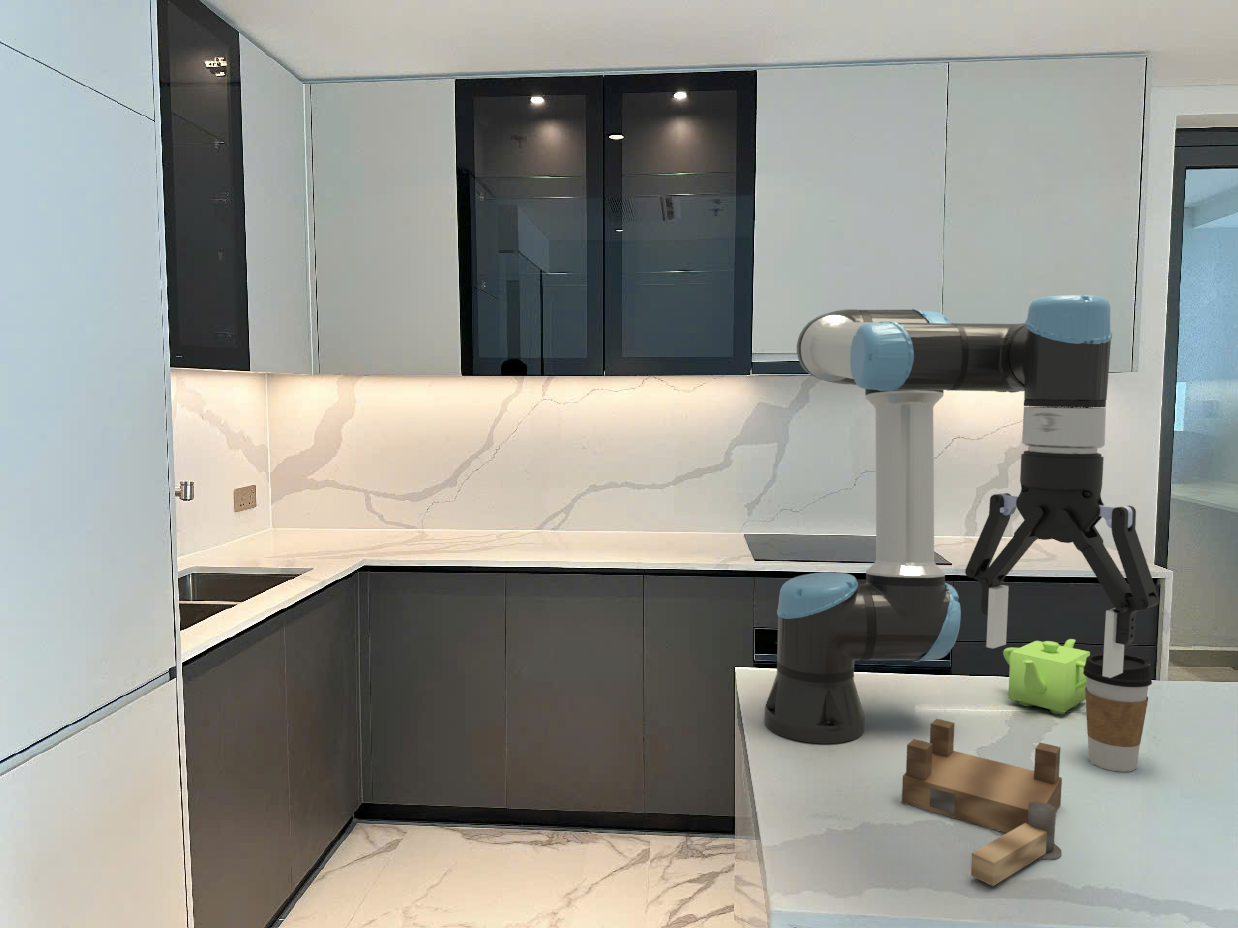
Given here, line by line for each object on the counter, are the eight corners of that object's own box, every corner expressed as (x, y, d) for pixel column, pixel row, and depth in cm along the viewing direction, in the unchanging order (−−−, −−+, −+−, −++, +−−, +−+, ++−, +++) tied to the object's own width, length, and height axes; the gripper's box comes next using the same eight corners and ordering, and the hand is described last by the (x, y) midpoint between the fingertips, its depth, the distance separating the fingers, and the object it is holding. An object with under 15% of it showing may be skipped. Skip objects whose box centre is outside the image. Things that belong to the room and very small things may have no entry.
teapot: (1070, 691, 155) (1074, 631, 154) (1115, 719, 141) (1119, 654, 140) (984, 691, 154) (987, 631, 153) (1021, 719, 141) (1025, 654, 140)
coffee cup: (1157, 778, 119) (1163, 670, 118) (1089, 772, 121) (1094, 665, 120) (1134, 753, 128) (1140, 652, 126) (1070, 748, 129) (1076, 648, 128)
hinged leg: (1034, 836, 102) (1036, 799, 102) (1058, 846, 100) (1060, 808, 100) (969, 874, 94) (971, 834, 94) (994, 886, 92) (996, 845, 92)
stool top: (890, 813, 109) (892, 754, 108) (932, 770, 121) (934, 717, 121) (1056, 863, 97) (1060, 798, 97) (1084, 810, 110) (1087, 752, 109)
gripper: (936, 444, 97) (929, 639, 99) (1176, 459, 78) (1161, 698, 80) (973, 442, 102) (966, 628, 103) (1208, 455, 83) (1194, 682, 85)
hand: (1051, 659), depth 92 cm, fingers open, 11 cm apart
